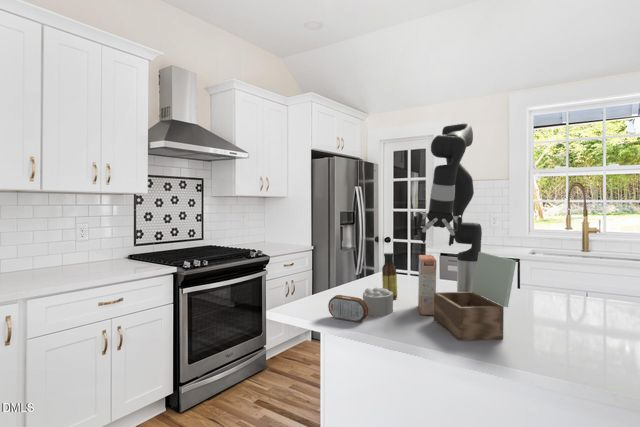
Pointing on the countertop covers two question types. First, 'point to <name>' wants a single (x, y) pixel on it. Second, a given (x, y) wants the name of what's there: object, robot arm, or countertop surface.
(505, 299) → the box lid
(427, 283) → the cracker box
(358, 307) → the tin
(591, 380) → the countertop surface
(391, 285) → the sauce bottle
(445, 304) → the walnut box
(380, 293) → the lumpy-topped squat cylinder
